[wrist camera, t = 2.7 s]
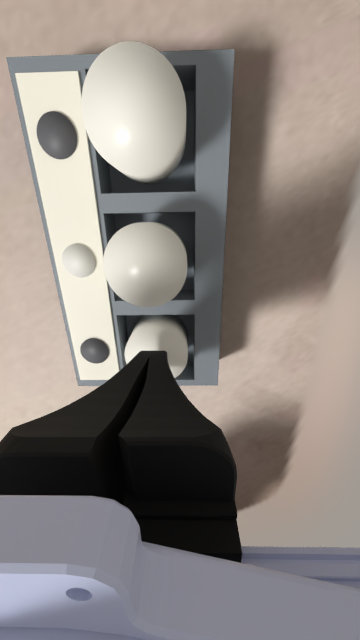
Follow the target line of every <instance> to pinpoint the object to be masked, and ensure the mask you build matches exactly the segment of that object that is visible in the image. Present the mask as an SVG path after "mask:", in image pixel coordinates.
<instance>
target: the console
mask: <svg viewBox="0 0 360 640" xmlns="http://www.w3.org/2000/svg"><path fill="white" fill-rule="evenodd" d="M234 51H235V49H219V50H192V51H164V52H160V53H161V54H162V55H164V56H165V57H166V59H167V60H168V61H169V62H170V63H171V65H172V66H173V67H174V69H175V71H176V73H177V74H178V76H179V79H180V81H181V84H182V87H183V90H184V94H185V100H186V144H185V150H184V154H183V157H182V159H181V161H180V163H179V165H178V167H177V168H176V169H175V171H174V172H173V173H172V174H171V175H169V176H168V177H167V178H165V179H164V180H162V181H159V182H156V183H149V184H147V183H140V182H136V181H134V180H132V179H130V178H128V177H127V176H125V175H124V174H123V173H121V172H120V171H119V170H117V169H116V168H115V167H114V166H112V165H111V164H110V163H108V162H107V161H106V160H105V159H104V158H103V157H102V156H101V155H100V154H99V153H98V152H97V150H96V149H95V147H94V146H93V144H92V142H91V140H90V139H89V136H88V134H87V132H86V128H85V125H84V121H83V116H82V107H81V100H82V89H83V85H84V81H85V78H86V75H87V72H88V70H89V68H90V67H91V65H92V63H93V62H94V60H95V59H96V58H97V57H98V56H99V55H100V54H83V55H55V56H28V57H6V58H7V63H8V67H9V72H10V76H11V81H12V85H13V90H14V95H15V99H16V104H17V108H18V113H19V117H20V122H21V127H22V131H23V136H24V140H25V145H26V149H27V154H28V158H29V163H30V168H31V172H32V177H33V181H34V186H35V190H36V195H37V200H38V204H39V209H40V213H41V218H42V222H43V227H44V231H45V236H46V241H47V245H48V250H49V254H50V259H51V263H52V268H53V273H54V277H55V282H56V286H57V291H58V295H59V300H60V305H61V309H62V314H63V318H64V323H65V327H66V332H67V336H68V341H69V346H70V350H71V355H72V359H73V364H74V368H75V373H76V378H77V382H78V386H101V385H103V384H104V383H105V382H107V381H108V380H109V379H110V378H112V377H113V376H114V375H115V374H116V373H118V372H119V371H120V370H121V369H122V368H123V367H124V366H125V365H126V361H125V354H124V353H125V347H126V345H127V342H128V340H129V338H130V336H131V334H132V332H133V329H134V327H135V325H136V323H137V321H138V320H139V319H140V318H141V317H142V316H143V315H176V316H178V317H179V318H180V319H181V320H182V321H183V323H184V325H185V327H186V330H187V344H188V360H187V364H186V367H185V368H184V370H183V371H182V373H181V374H180V375H179V376H177V377H176V378H175V380H176V382H177V384H178V385H218V370H219V350H220V330H221V310H222V290H223V270H224V250H225V230H226V211H227V191H228V171H229V151H230V131H231V111H232V91H233V71H234ZM140 222H158V223H162V224H165V225H167V226H169V227H170V228H172V229H173V230H174V231H175V232H176V233H177V234H178V235H179V236H180V238H181V239H182V241H183V243H184V245H185V248H186V253H187V276H186V280H185V283H184V285H183V287H182V289H181V290H180V292H179V293H178V294H177V295H176V296H175V297H174V298H173V299H172V300H170V301H169V302H167V303H165V304H163V305H160V306H156V307H139V306H135V305H132V304H130V303H128V302H126V301H124V300H123V299H122V298H120V297H119V296H118V295H117V294H116V293H115V292H114V291H113V290H112V288H111V287H110V285H109V283H108V281H107V279H106V276H105V273H104V268H103V257H104V252H105V249H106V246H107V244H108V242H109V240H110V239H111V238H112V236H113V235H114V234H115V233H116V232H117V231H119V230H120V229H121V228H123V227H125V226H127V225H130V224H133V223H140Z"/></svg>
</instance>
